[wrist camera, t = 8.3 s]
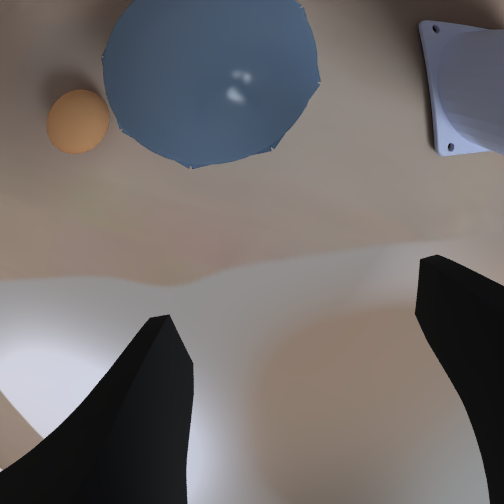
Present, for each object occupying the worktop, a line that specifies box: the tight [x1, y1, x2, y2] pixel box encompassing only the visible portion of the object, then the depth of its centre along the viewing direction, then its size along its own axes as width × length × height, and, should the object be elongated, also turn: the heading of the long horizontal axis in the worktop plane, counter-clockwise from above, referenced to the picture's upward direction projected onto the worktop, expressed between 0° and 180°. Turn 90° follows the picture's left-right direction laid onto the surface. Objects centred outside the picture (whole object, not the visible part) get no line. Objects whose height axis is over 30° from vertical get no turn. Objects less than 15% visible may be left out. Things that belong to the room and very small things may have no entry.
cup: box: [101, 0, 321, 169], centre depth 10 cm, size 6×6×7 cm
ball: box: [47, 89, 109, 154], centre depth 13 cm, size 3×3×3 cm
